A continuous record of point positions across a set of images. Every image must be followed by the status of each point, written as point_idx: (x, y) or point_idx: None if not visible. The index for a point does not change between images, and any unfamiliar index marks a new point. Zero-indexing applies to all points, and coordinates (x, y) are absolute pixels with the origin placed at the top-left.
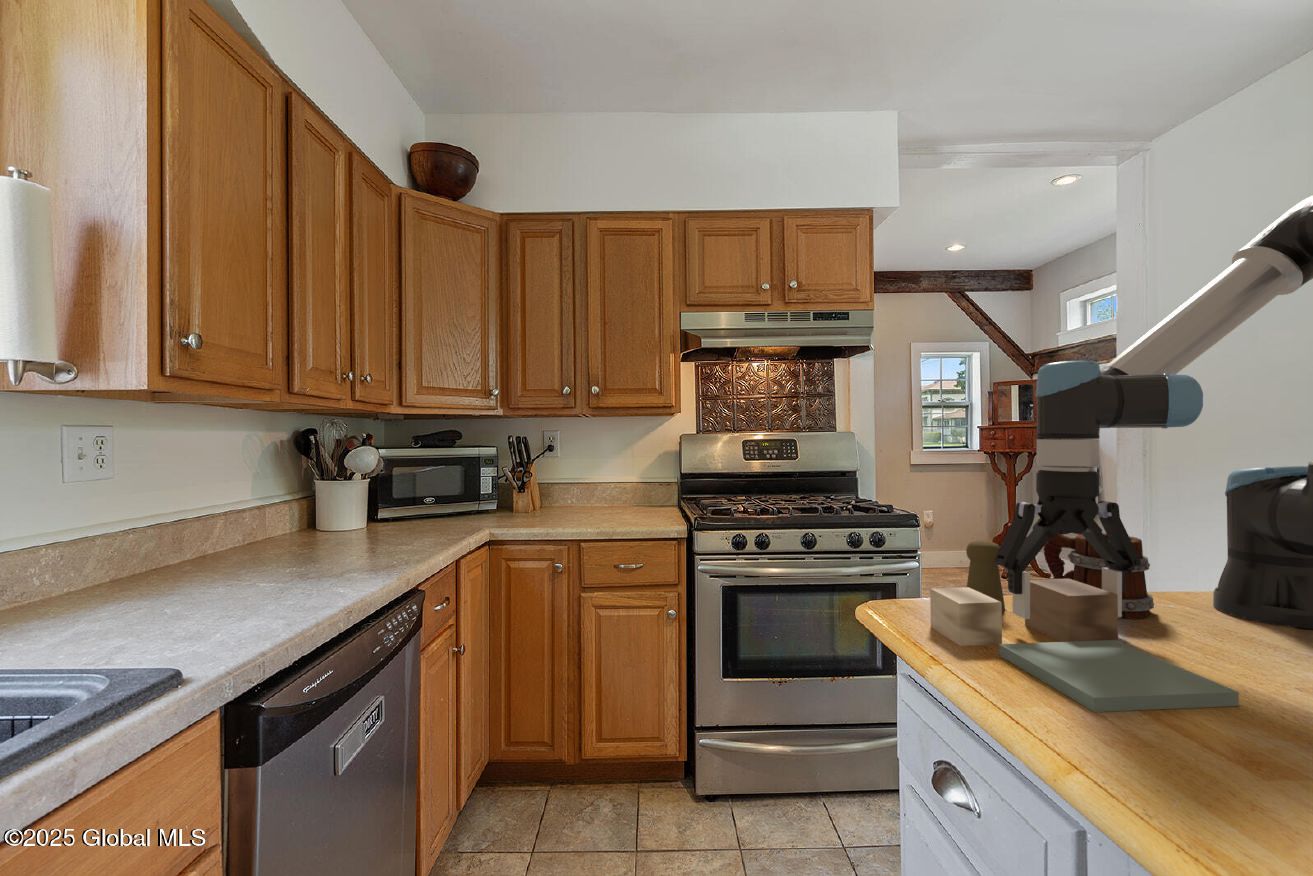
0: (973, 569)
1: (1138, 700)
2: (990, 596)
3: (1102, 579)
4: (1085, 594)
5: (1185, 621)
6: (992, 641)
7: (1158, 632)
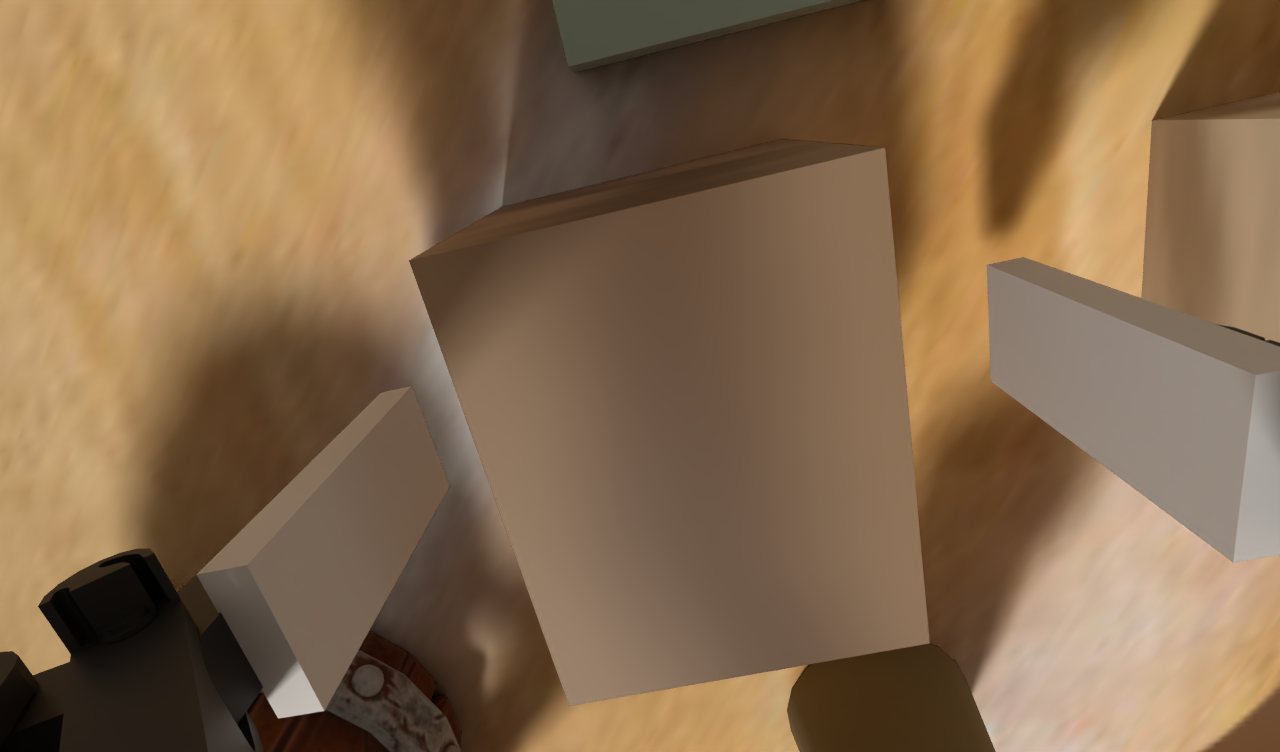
0: None
1: None
2: (918, 708)
3: (367, 622)
4: (697, 222)
5: (34, 595)
6: (1228, 106)
7: (218, 423)
